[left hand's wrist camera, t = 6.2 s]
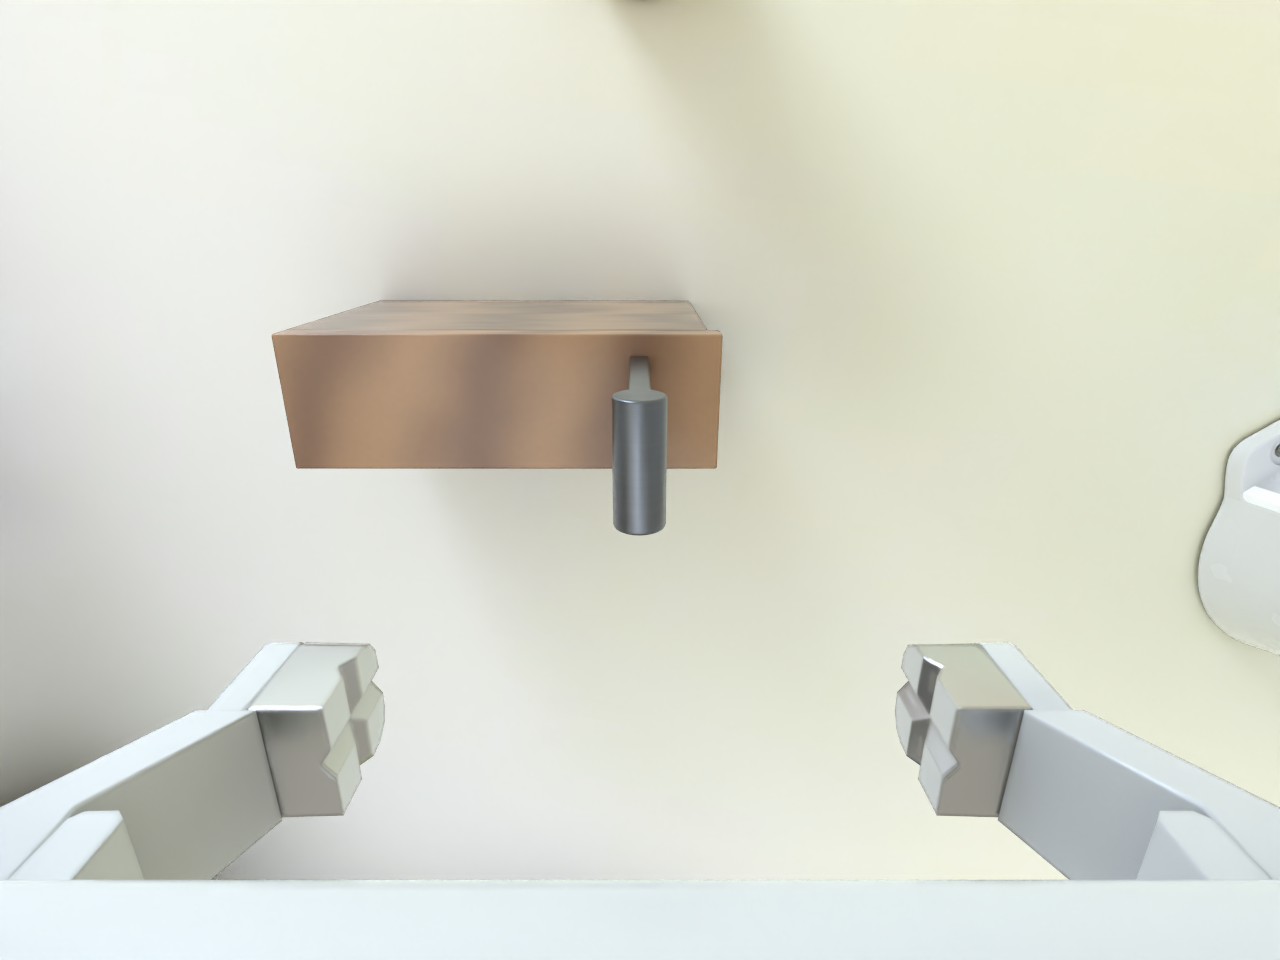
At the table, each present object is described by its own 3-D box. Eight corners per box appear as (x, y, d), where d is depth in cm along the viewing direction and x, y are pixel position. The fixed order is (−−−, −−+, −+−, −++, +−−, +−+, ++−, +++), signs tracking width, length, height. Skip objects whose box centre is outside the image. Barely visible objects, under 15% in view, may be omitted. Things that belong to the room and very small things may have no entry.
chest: (689, 300, 36) (707, 330, 26) (686, 398, 38) (703, 459, 28) (379, 300, 36) (285, 329, 26) (392, 398, 38) (308, 459, 28)
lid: (719, 330, 26) (755, 378, 18) (714, 460, 28) (744, 555, 20) (284, 329, 26) (128, 377, 18) (307, 460, 28) (175, 556, 20)
